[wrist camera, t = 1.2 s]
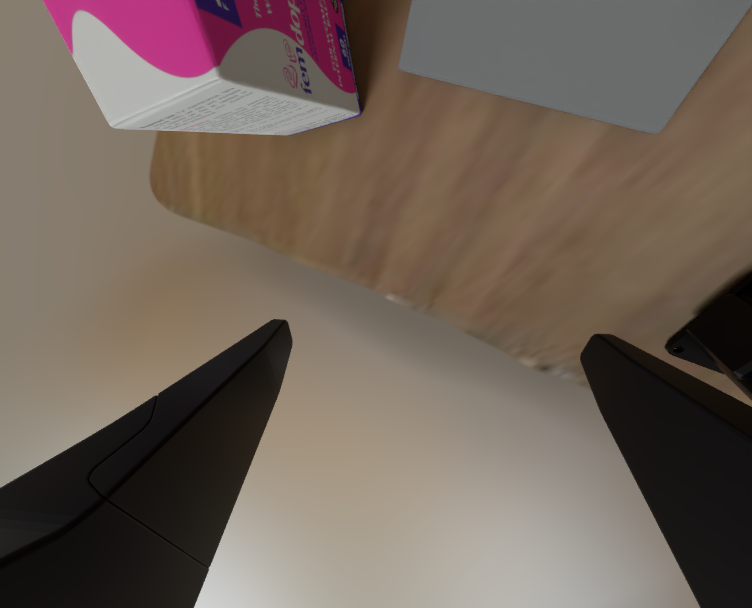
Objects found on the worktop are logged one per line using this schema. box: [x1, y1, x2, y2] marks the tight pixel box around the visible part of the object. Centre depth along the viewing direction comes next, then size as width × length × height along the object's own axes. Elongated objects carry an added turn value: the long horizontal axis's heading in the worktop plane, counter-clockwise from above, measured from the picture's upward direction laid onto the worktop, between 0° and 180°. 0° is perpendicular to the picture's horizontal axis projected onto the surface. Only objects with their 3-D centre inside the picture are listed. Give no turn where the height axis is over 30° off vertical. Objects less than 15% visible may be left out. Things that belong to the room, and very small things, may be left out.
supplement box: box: [43, 0, 362, 135], centre depth 12 cm, size 6×6×12 cm
